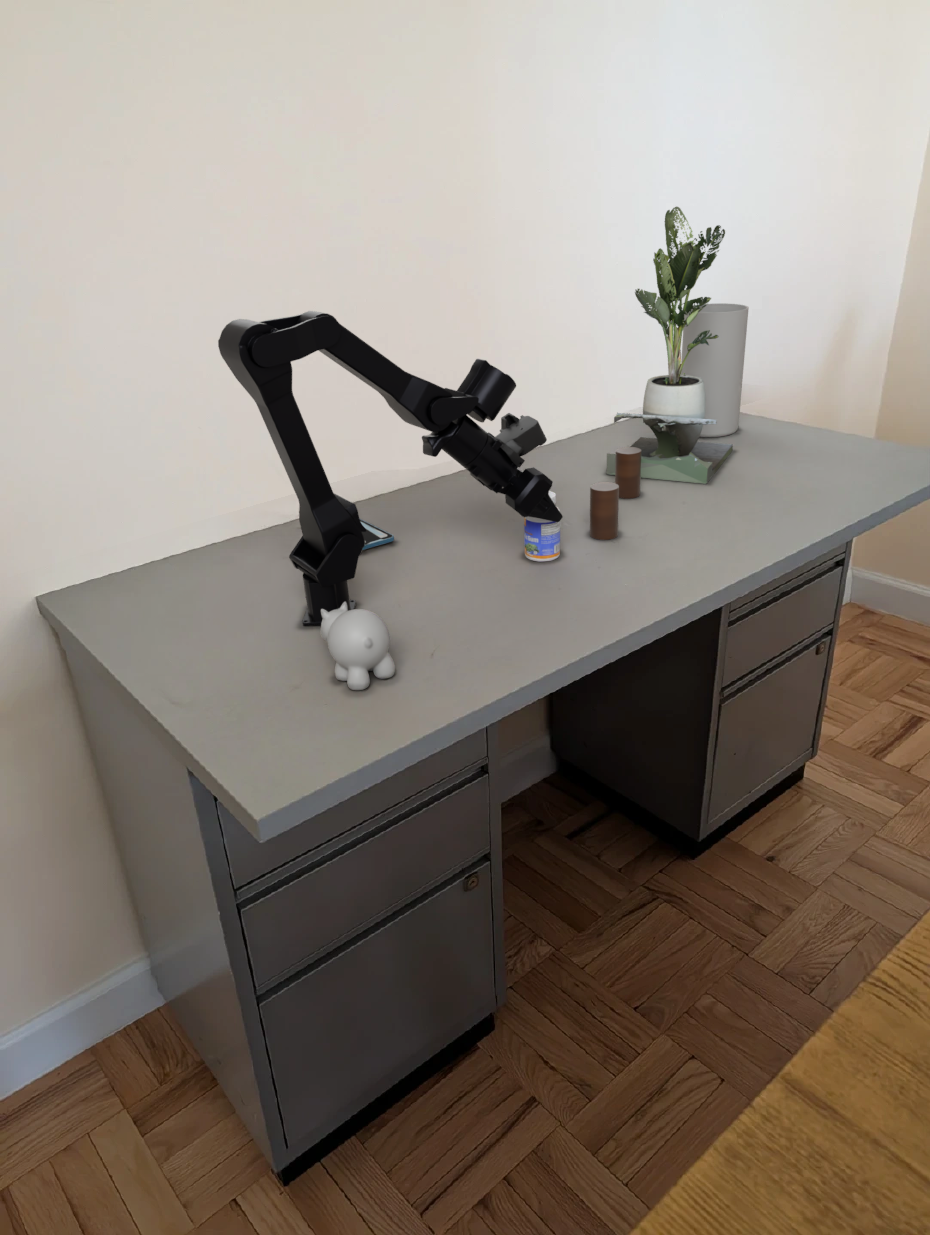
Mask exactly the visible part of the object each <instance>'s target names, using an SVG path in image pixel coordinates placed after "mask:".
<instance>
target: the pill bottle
mask: <svg viewBox="0 0 930 1235" xmlns="http://www.w3.org/2000/svg"><path fill="white" fill-rule="evenodd" d="M549 496H550V498H551V499H552V501H553V502H554V504H555V505H556V504H557V494H556V493H555V492H554V491H551V490H549ZM556 507H557V508H558V510H559V511H560V512H561V510H560V508H559V507H558V506H557V505H556ZM523 523H524V524H523V532H524V533H523V534H524V536H523V538H524V543H523V544H524V545H523V546H524V556H525V558H527V559H528V560H530V561H533V562H540V563H541V562H543V563H544V562H550V561H555V560H556V559H558V558H559V557H560V556H561V520H560V521H559V522H554V521H549V520H545V519H540V518H534V517H523Z"/></svg>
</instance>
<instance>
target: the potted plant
mask: <svg viewBox="0 0 930 1235" xmlns="http://www.w3.org/2000/svg"><path fill="white" fill-rule="evenodd" d="M685 222H686V224H684V223H685ZM678 224H679V225H678ZM685 225H686V226H688V228H686V227H685ZM679 228H680V229H679ZM721 228H722V225H719V224H718V225H716V226H715V227H714V229H712V226H709V227H707V228H706V230H705V236H704V233H703V230H701V231H700V232H699V233H698V238H696V237H695V238H694V234H693V230H692V227H691V226H690V224H689V221H688V219H687V217H686V216H685V214H684V212H683V211H682V208H681V207H679V206H675V207H673V208H672V209H671V210H670V209H668V210H666V212H665V215H664V230H665V245H666V253H667V254H665V251H664V249H662V248H658V250H657V251H656V252H653V254H654V256H653V257H652V258H653V260H652V262H653V265H654V267H655V268H654V269H655V276H656V285H657V289H658V293H659V296H658V293H657V292H651V291H648V290H645V289H644V290H643V289H642V288H641V289H640V288H637V289H635V291H634V295H635V297H636V299H637V301H638V302H639V303H640V305H641V306H640V307H641V308H642V309H644V311H643V314H646V315H647V316H649V317H650V318H652V319H655V320H656V321H657V322H658V324H659V326H661V328H662V331H663V335H664V340H665V344H666V345H665V346H666V351H667V352H666V353H667V368H668V370H667V371H668V374H665V375H664V374H663V375H657V376H653V377H650V378H648V379H647V382H646V385H645V390H644V395H643V403H642V413H628V412H616V415H615V416H614V417H613V424H616V423H617V422H619V421H621V420H622V419H627V418H628V419H642V423H643V424H645V425H646V426H647V427H649V429H650V430H651V431H652V432H653V434H654V436H655V438H654V437H644V436H643V437H642V436H641V437H639V438H638V439H637V440H635V442H634V443H632V444H631V445H629V447H636V448H639V449H641V478H643V479H652V480H661V481H662V480H663V481H674V482H683V483H692V484H694V483H695V484H703V485H704V484H705V485H707V484H708V483H709V481H710V480H711V479H712V477H714V475H715V474H716V473H717V471H718V470H719V469H720V467H721V466H722V465H723V463H724V461H726V459H728V457H729V456H730V455H731V453H732V452H733V449H734V448H733V447H734V445H733V444H732V443H731V444H730V443H720V442H719V443H718V442H711V441H710V442H709V441H698V440H699V438H700V437H699V436H700V434H701V431H702V427H703V425H708V424H717V420H713V419H704V418H705V404H706V399H705V386H704V381H703V379H702V378H700V377H696V376H690V375H685V373H683V374H684V375H682V374H681V371H682V368H683V365H684V362H685V360H686V358H687V356H688V354H689V352H690V351H691V349H693V348H694V347H695V346H697V345H699V344H704V343H706V344H707V345H709V344H708V342H707V340H706V339H716V338H718V337H719V336H718V335H715V336H713V337H710V336H712V333H711V334H710V335H708V334H709V332H710V330H707V331H703V332H701V333H700V336H699V335H698V337H696V338H695V339H694V341H693V342H692V343H690V344H689V345H688V346H687V349H688V348H690V349H688V353H687V355H686V356H685V358H684V360H683V362H682V363H681V361H682V349H681V348H682V339H683V329H684V327H687V326H688V325H689V324H690V323H691V322H692V321H693V320H694V319H695V318H696V316H697V314H698V313H699V312H700V311H701V310H702V309H703V307H705V306H707V304H709V302H710V301H711V300H712V297H709V296H704V297H703V296H700V297H697V298H693V299H690V300H689V296H690V293H691V291H692V289H693V288H694V287H695V285H696V282H697V280H698V279H699V277H700V275H701V273H702V272H703V271H706V270H709V269H710V268H711V266H712V264H713V262H714V261H715V259H716V258H717V256H718V255H717V253H719V251H720V249H719V248H720V245H721V243H722V242H723V240H724V238H725V235H726V230H725V229H724V228H722V229H721ZM679 230H682V234H683V235H684V236H683V237H684V238H685V237H686V239H685V240H683V241H681V240H682V239H683V238H681V240H679V243H678V242H677V239H678V238H679V236H678V234H679ZM683 230H684V231H685V232H684V231H683ZM686 230H690V231H689V233H687V231H686ZM690 239H692V240H690ZM698 239H699V240H698ZM684 242H685V243H684ZM696 242H697V243H696ZM709 246H710V247H709ZM706 248H708V250H707V251H706ZM703 249H704V250H703ZM704 256H705V257H704ZM684 297H685V299H684V302H683V298H684ZM705 304H706V305H705ZM693 305H694V306H693ZM703 305H704V306H703ZM700 306H702V308H701V307H700ZM677 309H678V312H677ZM691 309H693V310H692V312H691ZM699 309H700V310H699ZM689 311H690V312H691V313H689V316H688V317H687V319H686V320H685V321H684V314H685V315H688V312H689ZM697 312H698V313H697ZM686 313H687V314H686ZM685 324H686V325H687V326H685ZM707 332H708V333H707ZM702 335H703V337H702ZM707 335H708V336H707ZM706 336H707V337H706ZM717 336H718V337H717ZM699 337H700V338H701V339H699ZM694 343H695V344H694ZM615 456H616V453H606V475H611V476H615Z"/></svg>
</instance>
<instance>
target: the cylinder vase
mask: <svg viewBox="0 0 930 1235" xmlns="http://www.w3.org/2000/svg"><path fill="white" fill-rule="evenodd" d="M706 304H707V306H705V307H703V309H702V310H701V311H700V312H699V313H698V312H697V313H698V314H697V316H696V318H695V319H694V320H693V321H692V322H691V323H690V324H689V325H688V326H687V325H686V324H685V326H687V327H684V329H683V331H682V341H681V363H682V362H683V360H684V358H685V356H686V355H687V353H688V349H690V348H688V349H687V346H688V345H689V344H690V343H692V342H693V341H694V339H695V338H696V337H698V335H699V336H700V333H701V332H703V331H707V330H710V332H709V334H708V335H710V334H711V333H712V336H710V337H713V336H715V335H718V336H719V337H718V336H717V337H718V338H716V339H706V340H707V342H708V344H709V345H707V344H706V343H704V344H699V345H697V346H695V347H694V348H693V349H691V351H690V352H689V354H688V356H687V358H686V360H685V362H684V365H683V368H682V371H681V374H682V375H684V374H683V373H685V375H690V376H696V377H700V378H702V379H703V381H704V386H705V399H706V404H705V418H704V419H713V420H717V424H708V425H703V427H702V431H701V434H700V436H699V438H720V437H726V436H730V435H733V434H735V433H736V432H738V430H739V427H740V426H739V425H740V416H741V415H740V414H741V400H742V390H743V377H744V367H745V355H746V343H747V332H748V330H747V329H748V320H749V306H747V305H745V304H740V303H706ZM706 304H705V305H706ZM693 306H694V304H693ZM703 306H704V305H703ZM700 307H701V308H702V306H700ZM692 310H693V309H691V312H692ZM699 310H700V309H699ZM691 312H690V311H689V312H688V315H685V314H684V321H685V320H686V319H687V317H688V316H689V313H691ZM686 314H687V313H686ZM707 333H708V332H707ZM708 335H707V336H708ZM707 336H706V337H707ZM702 337H703V335H702ZM699 339H701V338H700V337H699ZM694 344H695V343H694Z"/></svg>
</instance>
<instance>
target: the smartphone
mask: <svg viewBox="0 0 930 1235" xmlns="http://www.w3.org/2000/svg"><path fill="white" fill-rule="evenodd" d="M359 519H360V522H361V523H362V525H363V526H364V527H365V528H366V529H367V531H366V532H362V533H363V535H364V539H365V546H364V548H363V549H362V551H365V550H368V549H371V548H374V547H375V548H376V547H378V546H382V545H385V544H388V543H392V542H393V541H394V540H395V536H394V534H392V533H390V532H388V531H386V530H384V529H382V528H380V527H378V526H377V525H374V524H372V523H370V522H368V521H366V520H364V519H363V518H360V517H359Z"/></svg>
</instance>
